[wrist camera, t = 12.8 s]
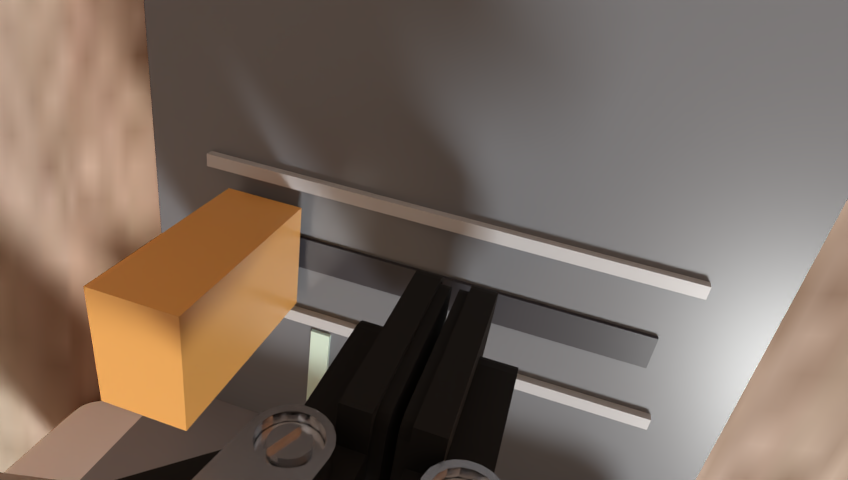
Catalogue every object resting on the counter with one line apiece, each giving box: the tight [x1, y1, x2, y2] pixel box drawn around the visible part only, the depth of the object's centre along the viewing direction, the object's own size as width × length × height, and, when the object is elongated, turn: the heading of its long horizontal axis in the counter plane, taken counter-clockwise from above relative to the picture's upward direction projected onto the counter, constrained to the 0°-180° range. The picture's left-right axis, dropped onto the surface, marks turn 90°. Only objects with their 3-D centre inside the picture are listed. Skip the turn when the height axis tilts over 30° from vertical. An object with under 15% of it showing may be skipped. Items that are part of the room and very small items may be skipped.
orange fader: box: [83, 188, 302, 431], centre depth 13 cm, size 3×2×4 cm
